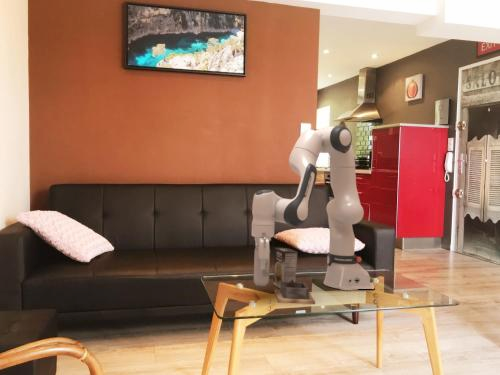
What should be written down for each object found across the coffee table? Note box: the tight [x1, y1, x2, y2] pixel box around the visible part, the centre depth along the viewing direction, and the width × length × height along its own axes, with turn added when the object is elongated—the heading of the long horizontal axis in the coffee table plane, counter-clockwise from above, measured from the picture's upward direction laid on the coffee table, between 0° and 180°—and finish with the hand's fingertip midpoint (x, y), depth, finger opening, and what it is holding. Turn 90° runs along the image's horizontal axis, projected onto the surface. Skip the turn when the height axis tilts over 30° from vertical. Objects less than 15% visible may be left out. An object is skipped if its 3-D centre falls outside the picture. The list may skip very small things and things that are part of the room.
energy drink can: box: [253, 245, 271, 287], centre depth 168 cm, size 6×6×15 cm
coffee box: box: [272, 247, 298, 289], centre depth 185 cm, size 9×6×16 cm
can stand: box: [274, 281, 316, 305], centre depth 170 cm, size 14×14×5 cm
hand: (261, 266), depth 168 cm, fingers closed on energy drink can, 6 cm apart
